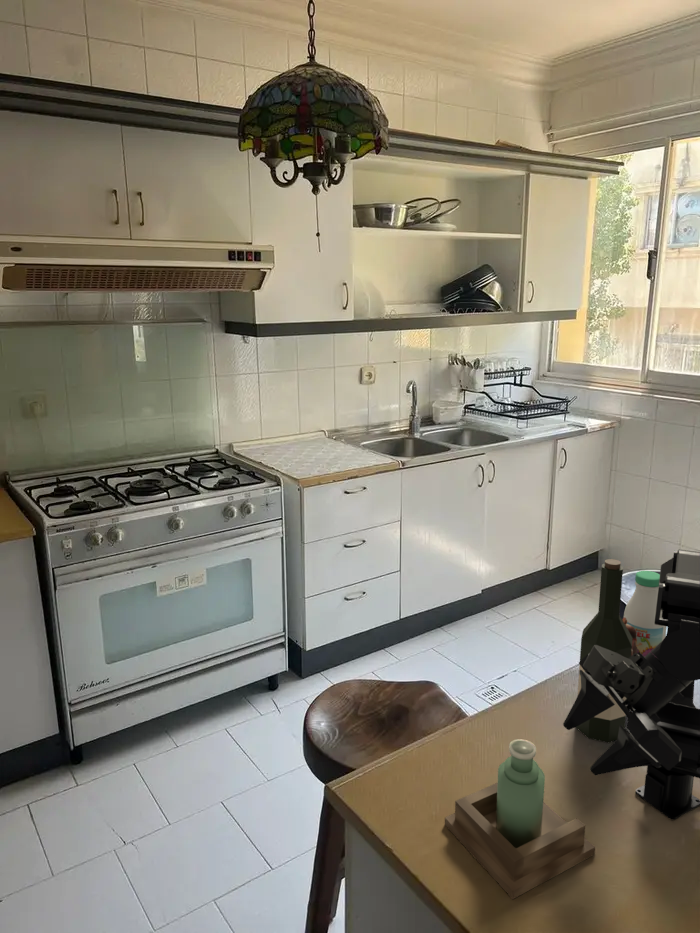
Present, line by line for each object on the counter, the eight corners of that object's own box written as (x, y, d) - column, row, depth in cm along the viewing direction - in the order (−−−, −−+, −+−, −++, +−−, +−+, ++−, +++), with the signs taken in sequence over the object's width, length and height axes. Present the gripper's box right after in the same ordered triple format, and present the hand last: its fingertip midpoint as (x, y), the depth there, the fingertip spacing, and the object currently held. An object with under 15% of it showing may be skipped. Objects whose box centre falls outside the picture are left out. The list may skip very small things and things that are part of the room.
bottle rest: (521, 789, 102) (522, 765, 101) (594, 854, 90) (596, 827, 89) (444, 824, 95) (445, 799, 94) (512, 899, 83) (513, 870, 82)
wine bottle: (634, 742, 112) (649, 571, 105) (582, 742, 112) (595, 572, 105) (615, 712, 120) (629, 552, 113) (568, 712, 120) (578, 552, 113)
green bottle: (519, 809, 96) (523, 728, 93) (550, 837, 91) (556, 752, 88) (486, 825, 94) (489, 742, 90) (516, 855, 88) (521, 768, 85)
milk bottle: (626, 656, 139) (634, 563, 134) (666, 668, 134) (676, 573, 129) (613, 672, 133) (621, 576, 128) (655, 685, 128) (664, 586, 123)
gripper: (597, 599, 95) (516, 674, 97) (665, 669, 77) (563, 760, 79) (647, 647, 97) (567, 720, 99) (725, 727, 79) (624, 813, 81)
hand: (578, 748), depth 90 cm, fingers open, 9 cm apart
